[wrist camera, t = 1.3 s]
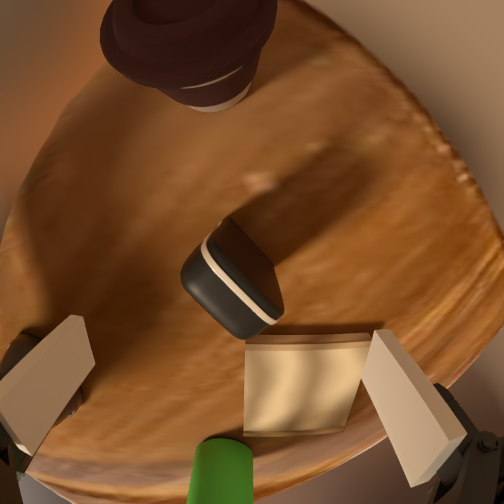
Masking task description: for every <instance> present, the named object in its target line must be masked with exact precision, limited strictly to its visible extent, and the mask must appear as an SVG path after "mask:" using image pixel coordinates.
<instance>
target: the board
mask: <svg viewBox="0 0 504 504" xmlns="http://www.w3.org/2000/svg"><path fill="white" fill-rule="evenodd" d="M371 342H372V338H371V336H370V335H369V333H368V332H366V333H348V334H323V335H256V336H255V337H253V338H251V339H248V340H246V341H245V385H244V433H243V437H286V436H305V435H317V434H327V433H336V432H344V429H345V427H344V426H345V423H346V420H347V418H348V415H349V412H350V410H351V407H352V404H353V401H354V398H355V395H356V392H357V389H358V386H359V383H360V380H361V376H362V373H363V370H364V366H365V363H366V360H367V356H368V353H369V349H370V345H371Z"/></svg>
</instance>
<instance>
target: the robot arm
mask: <svg viewBox="0 0 504 504" xmlns="http://www.w3.org/2000/svg"><path fill="white" fill-rule="evenodd" d="M95 364H96V363H95V360H94V357H93V353H92V350H91V346H90V343H89V339H88V335H87V331H86V327H85V323H84V319H83V317H82V316H77V315H70V316H69V317H67V318H66V319H65V320H64V321H63V322H62V323H61V324H60V325H58V326H57V327H56V328H55V329H54V330H53V331H52V332H51V333H50V334H48V335H47V336H46V337H45V338H44V339H43V340H41V339H39V338H37V337H35V336H32V335H29V334H21V335H19V336H17V337H16V338H15V339H14V340H13V341H11V342H10V344H9V345H8V348H7V350H6V352H5V354H4V356H3V358H2V360H1V362H0V504H23V501H22V497H21V493H20V489H19V484H18V482H19V480H20V479H21V478H22V476H24V475H25V471H26V469H27V468H28V466H29V464H30V463H31V461H32V459H33V457H34V456H35V454H36V452H37V451H38V449H39V448H40V446H41V444H42V443H43V441H44V440H45V438H46V436H47V435H48V433H49V432H50V430H51V429H52V428H53V427H55V426H56V425H58V424H59V423H61V422H62V421H63V420H64V419H65V418H66V417H70V416H72V415H73V414H75V413H76V411H77V410H78V408H79V407H80V405H81V403H82V401H83V394H82V389H81V386H80V385H81V383H82V382H83V381H84V379H85V378H86V376H87V375H88V374H89V372H90V371H91V370H92V368H93V367H94V365H95ZM361 379H362V381H363V383H364V385H365V387H366V389H367V392H368V394H369V396H370V398H371V400H372V402H373V404H374V406H375V408H376V410H377V413H378V415H379V417H380V419H381V421H382V423H383V425H384V428H385V430H386V432H387V434H388V436H389V438H390V441H391V443H392V445H393V447H394V450H395V452H396V454H397V457H398V459H399V461H400V463H401V466H402V468H403V470H404V472H405V475H406V477H407V480H408V482H409V484H410V487H414V486H416V485H419V484H422V483H424V482H427V481H429V480H430V479H431V477H432V476H433V475H434V474H435V473H436V472H437V474H438V476H439V478H438V479H437V480H436V481H435V482H434V483H433V485H432V486H431V487H430V488H429V489H428V490H427V492H426V493H427V494H428V493H429V492H430V491H431V490H432V489H433V491H432V494H431V496H430V499H429V502H428V504H504V437H500V438H498V437H497V436H496V435H495V434H493V433H491V432H488V431H481V432H479V431H478V430H477V428H476V427H475V425H474V424H473V423H472V421H471V420H470V418H469V417H468V416H467V414H466V413H465V412H464V410H463V409H462V408H461V407H459V404H458V402H457V401H456V400H454V397H453V396H452V394H451V393H450V392H449V391H448V389H446V388H445V387H443V386H442V385H440V384H439V383H436V384H432V383H431V382H430V380H429V379H428V378H427V376H426V375H425V374H424V372H423V371H422V370H421V369H420V367H419V366H418V365H417V363H416V362H415V361H414V359H413V358H412V357H411V356H410V354H409V353H408V352H407V351H406V349H405V348H404V347H403V346H402V344H401V343H400V342H399V341H398V339H397V338H396V337H395V336H394V334H393V333H392V332H391V331H390V329H383V330H374V334H373V338H372V342H371V345H370V349H369V353H368V356H367V360H366V363H365V366H364V370H363V373H362V376H361Z"/></svg>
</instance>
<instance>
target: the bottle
mask: <svg viewBox="0 0 504 504" xmlns="http://www.w3.org/2000/svg"><path fill="white" fill-rule="evenodd" d="M187 504H253V454H252V450H251V449H249V448H248V447H247V446H246V445H244V444H242V443H240V442H238V441H236V440H232V439H228V438H215V439H210V440H207V441H205V442H202V443H200V444H199V445H198V446H197V448H196V453H195V459H194V464H193V470H192V475H191V481H190V486H189V492H188V498H187Z"/></svg>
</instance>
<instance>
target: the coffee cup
mask: <svg viewBox="0 0 504 504" xmlns="http://www.w3.org/2000/svg"><path fill="white" fill-rule="evenodd" d="M276 12H277V0H113V1H112V2H111V4H110V5H109V7H108V9H107V11H106V13H105V15H104V18H103V21H102V24H101V28H100V44H101V47H102V51H103V54H104V56H105V58H106V59H107V61H108V62H109V63H110V65H111V66H113V67H114V68H115V69H116V70H117V71H119V72H120V73H121V74H123V75H124V76H125V77H127V78H129V79H130V80H132V81H134V82H136V83H138V84H141V85H144V86H148V87H153V88H157V89H158V90H160V91H161V92H163V93H164V94H166V95H168V96H169V97H171V98H172V99H174V100H175V101H177V102H179V103H182V104H185V105H187V106H188V107H190V108H192V109H194V110H197V111H201V112H218V111H222V110H225V109H228V108H230V107H232V106H234V105H235V104H236V103H238V102H239V101H240V100H241V99H242V98H243V97H244V96H245V95H246V93H247V91H248V90H249V87H250V85H251V81H252V79H253V77H254V75H255V72H256V69H257V65H258V61H259V57H260V53H261V49H262V47H263V46H264V45H265V43H266V42H267V40H268V39H269V37H270V35H271V33H272V30H273V27H274V24H275V18H276Z"/></svg>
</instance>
